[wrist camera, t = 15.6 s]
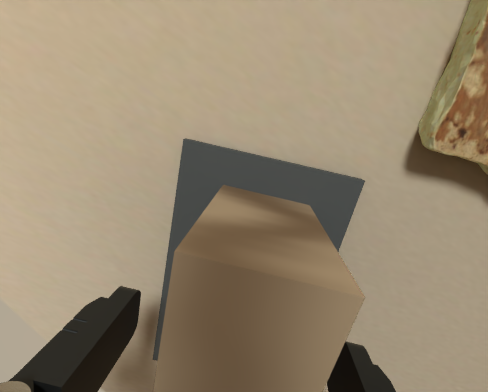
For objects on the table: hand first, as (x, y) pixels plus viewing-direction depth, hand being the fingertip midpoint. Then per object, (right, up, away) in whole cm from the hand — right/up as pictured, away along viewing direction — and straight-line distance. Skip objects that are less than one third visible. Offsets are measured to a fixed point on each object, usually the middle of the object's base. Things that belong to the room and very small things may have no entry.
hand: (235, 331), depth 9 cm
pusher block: (0, +1, +3) cm, 3 cm away
